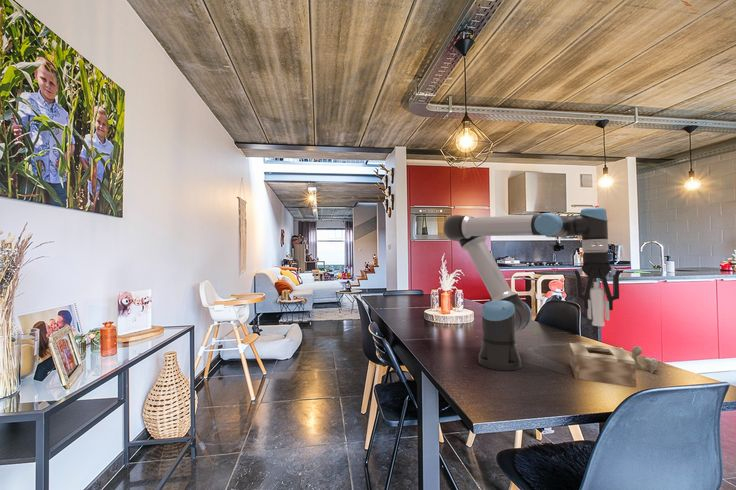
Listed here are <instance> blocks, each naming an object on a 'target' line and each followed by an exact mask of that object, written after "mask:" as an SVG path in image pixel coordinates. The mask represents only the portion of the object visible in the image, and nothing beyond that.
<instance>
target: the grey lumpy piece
mask: <svg viewBox="0 0 736 490" xmlns="http://www.w3.org/2000/svg"><path fill="white" fill-rule="evenodd" d="M642 351H643V349H642V348H641V346H638V345H637V346H633V347H632V349H631V357H632V358H633V359H634V360H635V368H636V370H637V369H638V370H644V371H647V372H650V373H651V374H654V371H656V370H658V367H659V365H660V364H659V362H658V360H657V359H656V358H654V357H653V358H650V357H647V356H646V357H644V362H645V363H646V364H647V365H643V364H641V363H640V362H639V361H638V359H637V357H638V356H640V355H641V354H642Z"/></svg>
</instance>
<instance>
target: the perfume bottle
mask: <svg viewBox="0 0 736 490" xmlns="http://www.w3.org/2000/svg"><path fill="white" fill-rule="evenodd" d="M600 283H601V281H592V287H591V288H590V293H589V300H591V318H592V322H591V325H592V326H593V327H594V326H595V327H605V326H606V324H605V321H604V320H605V300H606V299H605V298H606V294H605V290H604V288H603V287H601V286H600Z"/></svg>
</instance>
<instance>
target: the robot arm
mask: <svg viewBox="0 0 736 490" xmlns="http://www.w3.org/2000/svg"><path fill="white" fill-rule="evenodd" d="M608 221H609V220H608V216H607V209H605V208H604V207H600V206H599V207H588V208H582V209H581V210H580V213H579V214H577V215H568V216H567V215H566V216H565V215H564V216H563V215H558V214H557V213H553V212H544V213H541V214H539V213H538V214H524V215H500V216H482V217H481V216H480V217H474V216H470V215H460V214H454V215H451V216H450V217H447V219H446V220H445V222H444V224H443V227H442V228H443V233H444V235H445V236H446V237H447V238H448V239H449V240H450V241H454V242H458V243H459V245H460V248H461V249H462V250H464V251H467V253H468V254H469V257H470V259H471V261H472V263H473V264H474V266H475V269H476V271H477V273H478V274H479V276H480V278H481V280H482V281H483V284H484V286H485V288H486V289H487V290H486V291H487V292H488V294H489V295H490V296H489V297H490V298H491V300H489V301H487V302H484V304H483V305H482V308H481V325H482V344H481V348H480V351H479V354H478V363H479V365H480V366H482V367H484V368H488V369H491V370H497V371H506V372H507V371H517V370H519V369H521V368H522V360H521V359H522V358H521V357H520V354H519V351H518V348H517V345H516V343H517V342H516V332H517V331H521V330H523V329H526V327H527V326H529V324H530V323H531V321H532V319H533V317H532V316H533V313H532V309H531V308H530V306H529V305H528V304H527V302H525V301H523V300H522V299H521V298H520V296H519V293H517V292H515V291H512V289H511V287H510V285H509V283H508V282H507V280H506V278H505V276H504V275H503V273H502V270H501V269H500V267H499V265H498V263H497V262H496V260H495V258H494V257H493V255H492V253H491V250H490V249H489V247H488V245H487V243H486V241H487V237H492V236H493V237H494V236H495V237H499V236H500V237H503V236H505V237H507V236H508V237H509V236H510V237H512V236H513V237H516V236H520V237H521V236H522V237H523V236H525V237H526V236H537V237H539V236H544V237H547V238H563V237H565V238H566V237H575V236H576V237H581V245H582V246H581V248H582V252H583V253H582V266H581V268H578V269H574V270H573V274H574V276H575V285H576V286H575V287H576V296H577V298H579V299H582V303H583V308H584V310H587V312H586V313H587V319H588V320H593V317H592V309H591V300H590V289H591V288H592V285H593V281H594V279H599V280H600V283H601V285H602V289H604V290H605V298H606V299H605V302H604V320H606V321H610V320H611V319H610V318H611V317H610V311H613V310H614V304H613V303H614V301H616V300H619V299H620V278H619V277H620V275H621V272H622V271H621V270H619V269H615V268H612V267H611V265H610V254H609V252H608V251H609V240H608V239H609V237H608V236H609V234H608V229H609V228H608V227H609V225H608ZM582 272H583V273H584V274H585V275H586V277H587V278H586V283H585V286H584V292H583V291H582V278H581V276H582V274H583V273H582ZM609 273H611V275H612V292H611V289H610V287H609V283H608V280H607V276H608V274H609ZM582 292H583V293H582ZM612 294H613V295H612Z"/></svg>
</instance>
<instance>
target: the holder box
mask: <svg viewBox="0 0 736 490" xmlns="http://www.w3.org/2000/svg"><path fill="white" fill-rule="evenodd" d="M568 344H569V345H568V346H569V364H570V367H571V371H572V373H573V377H574V378H575V379H577V380H582V381H583V380H584V381H590V382H598V383H604V384H611V385H612V384H613V385H619V386H626V387H635V388H637V374H636V370H637V369H636V368H635V360H634V359H633V358H632V355H630V353H628V352H627V351H626V350H625V349H624V348H623V347H617V346H608V345H607V346H606V345H595V344H587V343H586V344H585V343H576V342H575V343H573V342H569V343H568Z"/></svg>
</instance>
